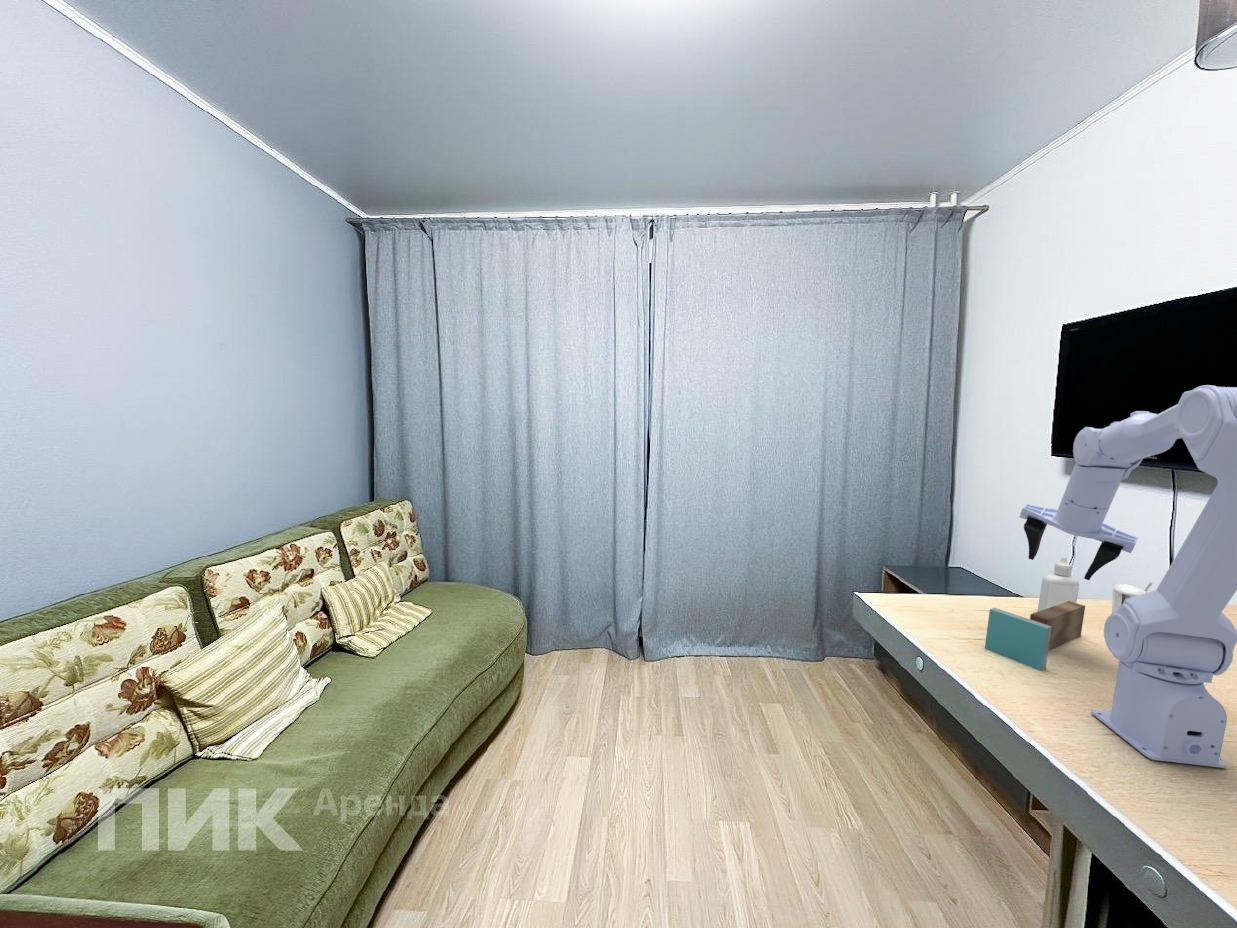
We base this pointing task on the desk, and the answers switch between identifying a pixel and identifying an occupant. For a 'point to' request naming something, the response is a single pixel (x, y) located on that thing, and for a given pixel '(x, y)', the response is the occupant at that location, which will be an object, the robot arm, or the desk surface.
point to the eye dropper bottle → (1058, 586)
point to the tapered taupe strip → (1062, 622)
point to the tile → (1018, 638)
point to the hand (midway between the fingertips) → (1059, 566)
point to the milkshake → (1125, 594)
